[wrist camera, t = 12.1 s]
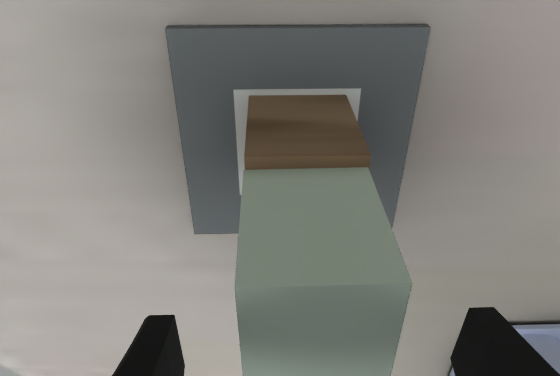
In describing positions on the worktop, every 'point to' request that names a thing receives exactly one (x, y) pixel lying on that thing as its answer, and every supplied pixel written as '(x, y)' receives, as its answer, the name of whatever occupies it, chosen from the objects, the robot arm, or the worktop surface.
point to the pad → (288, 81)
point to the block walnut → (303, 133)
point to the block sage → (317, 275)
